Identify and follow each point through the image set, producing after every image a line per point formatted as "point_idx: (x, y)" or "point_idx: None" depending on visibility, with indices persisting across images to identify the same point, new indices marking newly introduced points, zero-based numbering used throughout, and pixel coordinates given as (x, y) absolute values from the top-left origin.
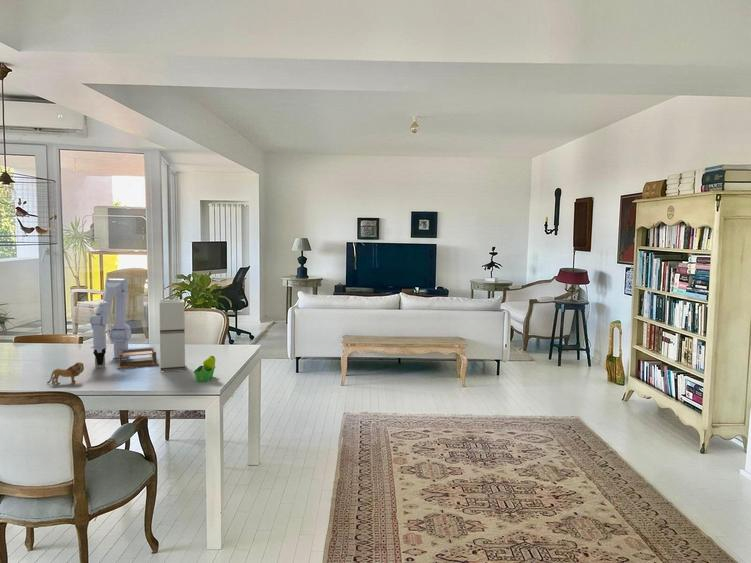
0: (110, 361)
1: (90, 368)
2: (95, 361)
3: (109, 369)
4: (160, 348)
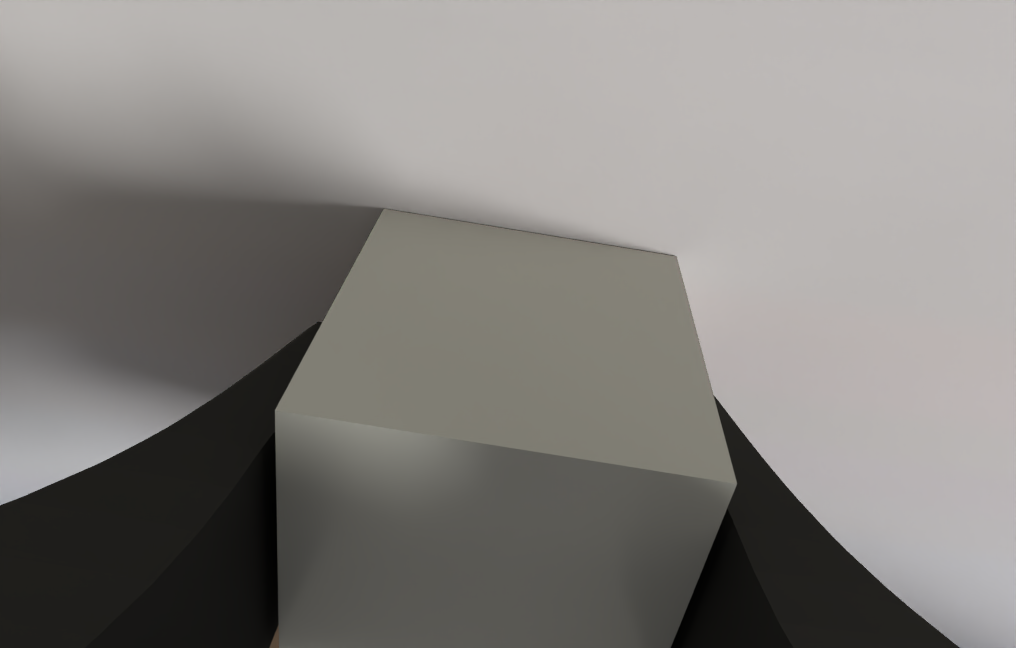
0: (931, 619)
1: (368, 67)
2: (328, 337)
3: (49, 463)
4: None
